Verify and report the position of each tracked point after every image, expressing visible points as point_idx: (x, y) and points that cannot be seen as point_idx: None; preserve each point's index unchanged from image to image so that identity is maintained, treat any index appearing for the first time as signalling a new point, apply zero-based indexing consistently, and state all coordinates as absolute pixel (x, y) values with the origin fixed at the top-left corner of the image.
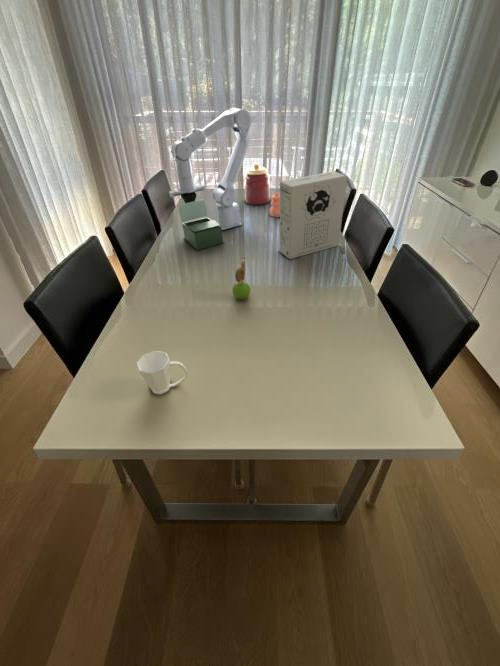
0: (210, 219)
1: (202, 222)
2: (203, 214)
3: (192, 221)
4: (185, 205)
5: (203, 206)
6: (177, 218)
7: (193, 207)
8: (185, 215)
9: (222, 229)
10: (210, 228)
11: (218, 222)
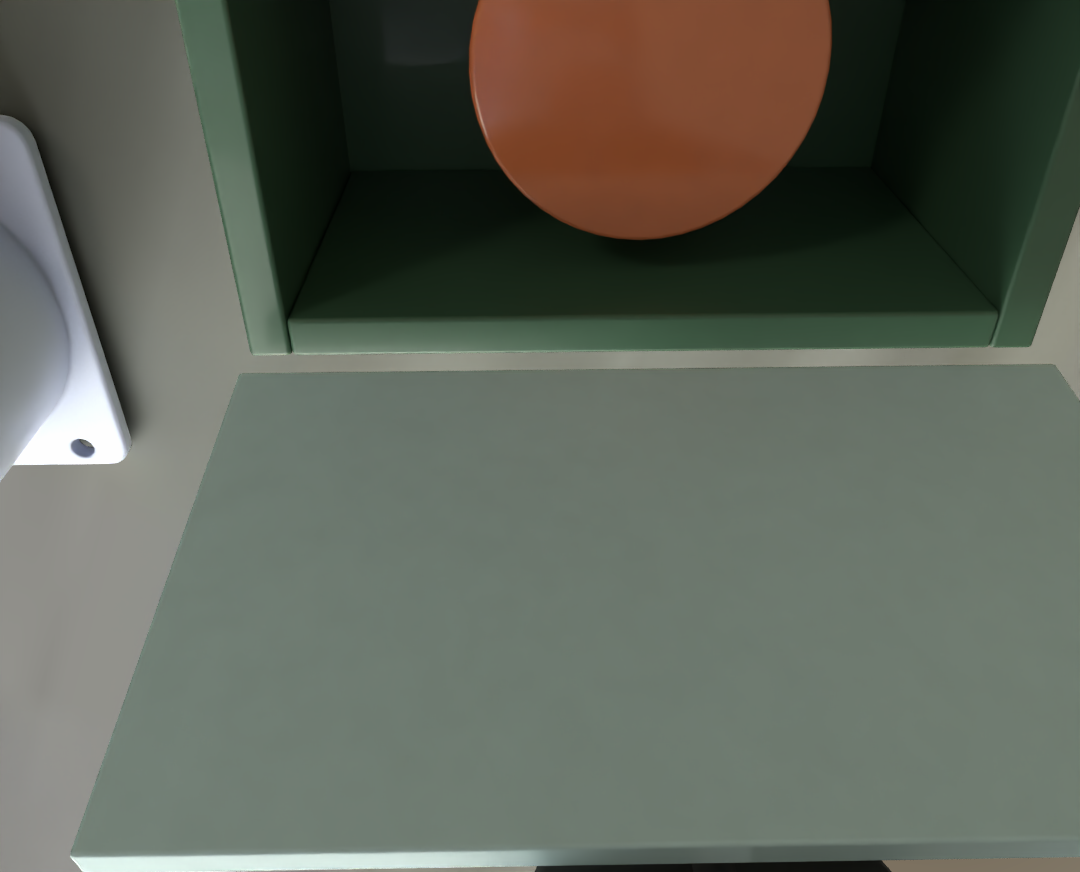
0: (209, 116)
1: (446, 269)
2: (347, 405)
3: (742, 309)
4: (1017, 756)
5: (248, 596)
6: None
7: (662, 629)
8: (970, 465)
9: (17, 124)
10: (307, 49)
11: (33, 359)
